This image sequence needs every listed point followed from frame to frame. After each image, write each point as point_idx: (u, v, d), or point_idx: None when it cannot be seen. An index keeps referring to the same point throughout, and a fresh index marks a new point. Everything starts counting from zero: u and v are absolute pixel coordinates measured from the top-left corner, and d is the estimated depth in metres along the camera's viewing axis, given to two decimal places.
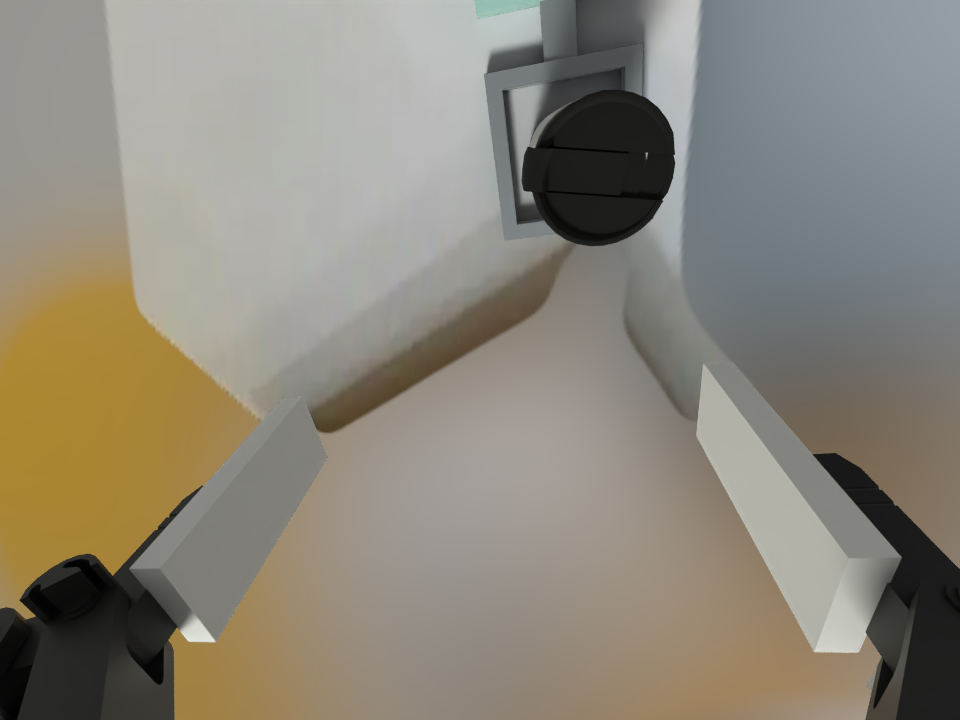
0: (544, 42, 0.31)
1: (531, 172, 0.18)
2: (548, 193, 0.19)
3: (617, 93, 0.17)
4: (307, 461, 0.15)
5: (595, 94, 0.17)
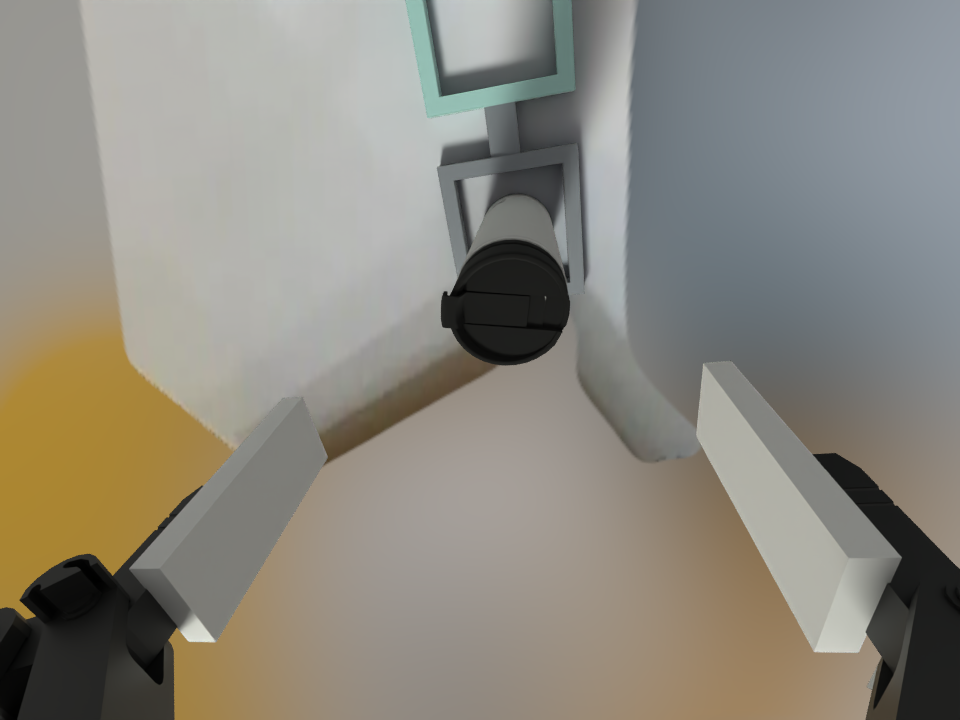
0: (490, 141, 0.34)
1: (446, 314, 0.21)
2: (465, 325, 0.22)
3: (513, 255, 0.20)
4: (307, 461, 0.15)
5: (495, 256, 0.20)
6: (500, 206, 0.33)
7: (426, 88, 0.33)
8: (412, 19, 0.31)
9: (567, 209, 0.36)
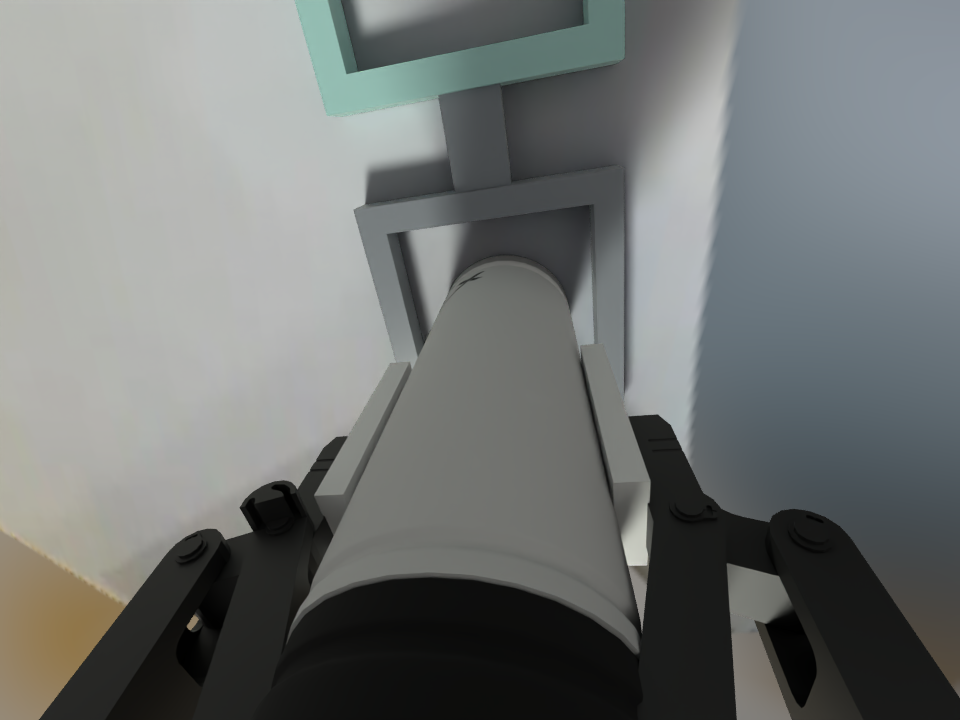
0: (452, 161, 0.18)
1: None
2: None
3: None
4: None
5: None
6: (469, 295, 0.16)
7: (320, 55, 0.16)
8: None
9: (599, 287, 0.19)
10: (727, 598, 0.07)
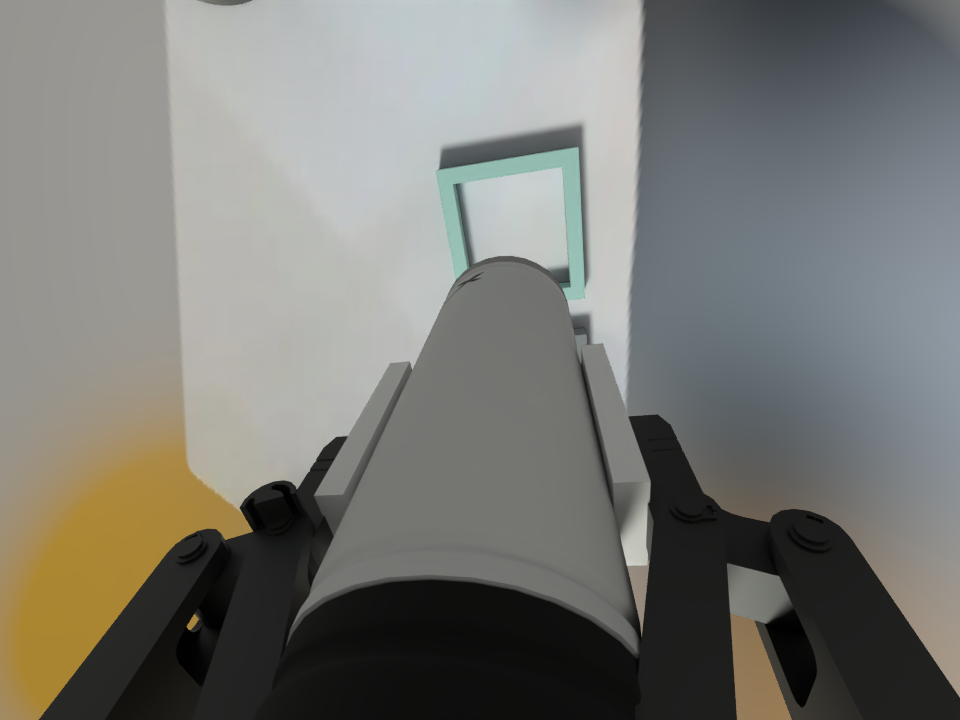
0: None
1: None
2: None
3: None
4: None
5: None
6: (469, 296, 0.16)
7: None
8: (452, 246, 0.38)
9: None
10: (728, 598, 0.07)
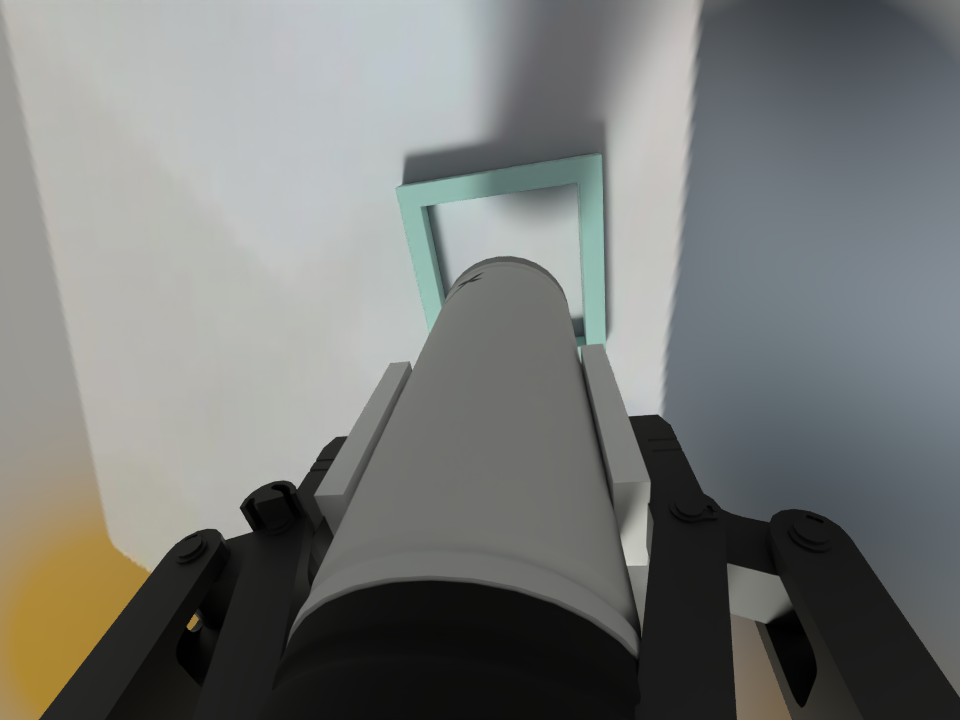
0: None
1: None
2: None
3: None
4: None
5: None
6: (469, 297, 0.16)
7: None
8: (423, 291, 0.27)
9: None
10: (727, 597, 0.07)
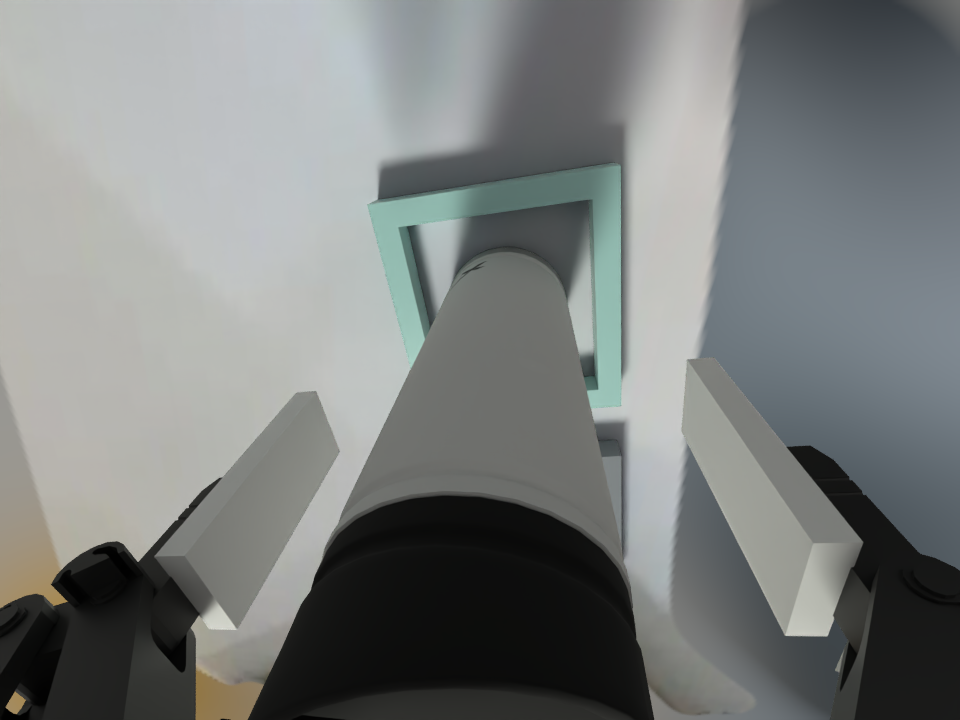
0: None
1: None
2: None
3: (452, 686, 0.05)
4: (321, 455, 0.15)
5: (375, 686, 0.05)
6: (472, 282, 0.17)
7: None
8: (404, 325, 0.23)
9: None
10: None
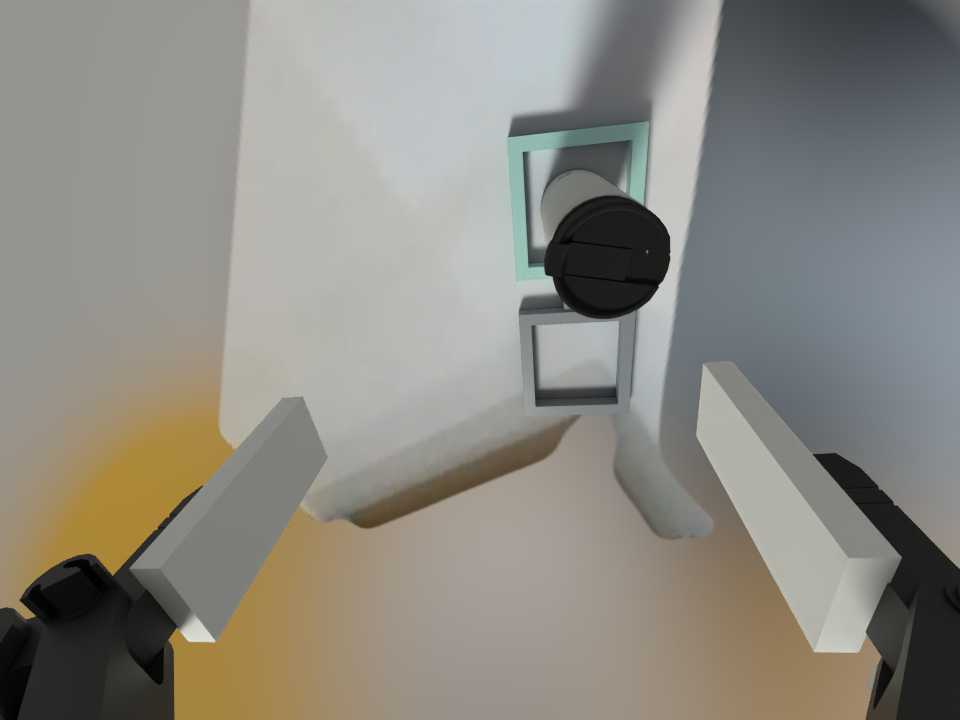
0: None
1: (553, 262, 0.22)
2: (565, 276, 0.23)
3: (626, 206, 0.21)
4: (307, 461, 0.15)
5: (609, 205, 0.21)
6: (570, 177, 0.33)
7: (519, 261, 0.40)
8: (515, 214, 0.39)
9: (621, 352, 0.44)
10: None
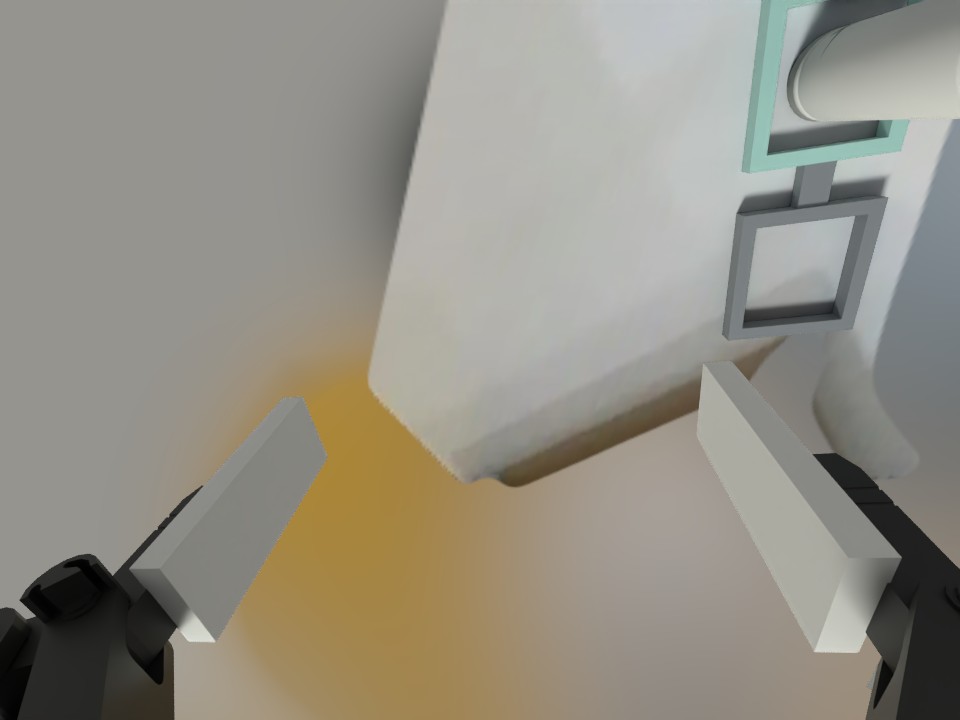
0: (801, 194, 0.37)
1: None
2: None
3: None
4: (307, 461, 0.15)
5: None
6: (872, 17, 0.28)
7: (757, 147, 0.36)
8: (763, 88, 0.34)
9: (859, 254, 0.39)
10: None
